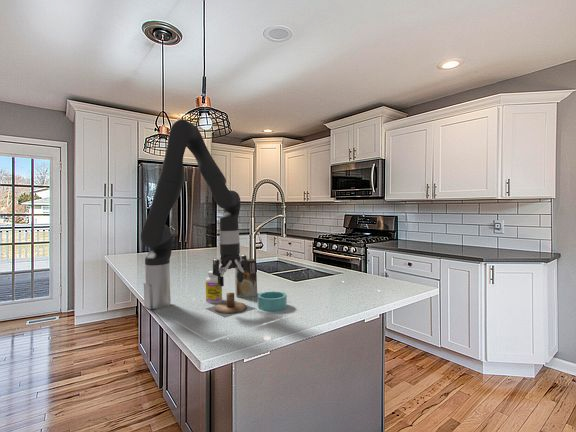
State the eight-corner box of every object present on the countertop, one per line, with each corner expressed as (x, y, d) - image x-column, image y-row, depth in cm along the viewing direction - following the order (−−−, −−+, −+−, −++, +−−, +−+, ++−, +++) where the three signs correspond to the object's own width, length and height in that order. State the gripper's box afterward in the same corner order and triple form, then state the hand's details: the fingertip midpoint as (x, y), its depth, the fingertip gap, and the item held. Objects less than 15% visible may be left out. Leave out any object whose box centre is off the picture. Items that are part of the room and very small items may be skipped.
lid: (225, 315, 118) (225, 300, 118) (208, 308, 127) (208, 293, 126) (252, 308, 126) (252, 293, 126) (234, 302, 135) (234, 288, 135)
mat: (224, 318, 116) (224, 317, 116) (205, 309, 127) (205, 308, 127) (256, 309, 126) (256, 308, 126) (235, 302, 136) (235, 301, 136)
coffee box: (255, 293, 150) (254, 258, 150) (257, 296, 144) (256, 260, 144) (234, 294, 148) (234, 259, 147) (236, 298, 142) (235, 261, 141)
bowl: (270, 314, 121) (270, 301, 120) (252, 307, 129) (252, 295, 128) (291, 307, 128) (291, 295, 128) (273, 301, 136) (273, 290, 136)
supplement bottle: (205, 304, 133) (204, 273, 133) (206, 300, 140) (205, 270, 139) (222, 303, 135) (221, 272, 134) (222, 299, 141) (221, 269, 141)
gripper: (218, 244, 118) (220, 289, 118) (250, 241, 128) (251, 282, 128) (208, 243, 123) (209, 286, 124) (239, 239, 133) (240, 279, 134)
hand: (231, 284), depth 126 cm, fingers open, 8 cm apart
